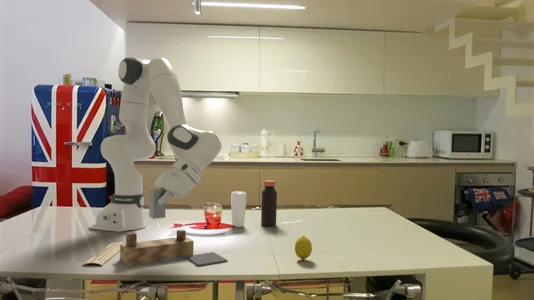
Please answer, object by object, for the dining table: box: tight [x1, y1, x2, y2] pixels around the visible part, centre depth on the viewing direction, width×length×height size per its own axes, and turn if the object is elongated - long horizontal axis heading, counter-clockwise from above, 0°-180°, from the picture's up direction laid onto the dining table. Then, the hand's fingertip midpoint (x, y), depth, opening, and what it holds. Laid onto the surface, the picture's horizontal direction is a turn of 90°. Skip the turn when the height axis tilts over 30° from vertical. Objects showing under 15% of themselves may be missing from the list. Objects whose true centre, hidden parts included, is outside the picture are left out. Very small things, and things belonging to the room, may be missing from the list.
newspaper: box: [82, 241, 126, 267], centre depth 140 cm, size 24×7×2 cm, turn 1°
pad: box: [185, 251, 228, 267], centre depth 137 cm, size 10×10×1 cm
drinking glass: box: [230, 190, 247, 228], centre depth 186 cm, size 7×7×15 cm
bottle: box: [260, 179, 278, 228], centre depth 189 cm, size 7×7×20 cm
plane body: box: [119, 229, 195, 267], centre depth 137 cm, size 22×7×9 cm, turn 123°
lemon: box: [294, 235, 313, 261], centre depth 139 cm, size 6×6×8 cm
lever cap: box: [148, 186, 167, 220], centre depth 137 cm, size 4×4×10 cm
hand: (155, 202), depth 137 cm, fingers closed on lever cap, 4 cm apart
